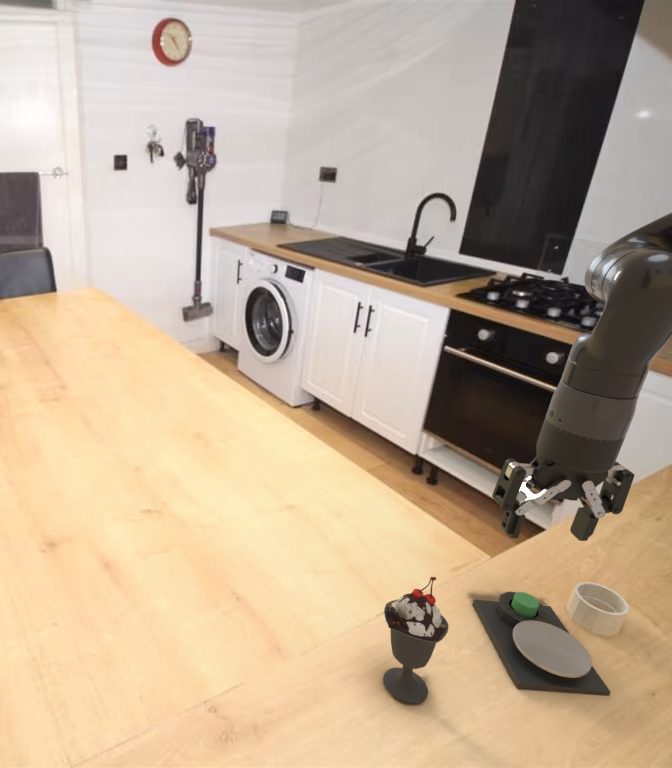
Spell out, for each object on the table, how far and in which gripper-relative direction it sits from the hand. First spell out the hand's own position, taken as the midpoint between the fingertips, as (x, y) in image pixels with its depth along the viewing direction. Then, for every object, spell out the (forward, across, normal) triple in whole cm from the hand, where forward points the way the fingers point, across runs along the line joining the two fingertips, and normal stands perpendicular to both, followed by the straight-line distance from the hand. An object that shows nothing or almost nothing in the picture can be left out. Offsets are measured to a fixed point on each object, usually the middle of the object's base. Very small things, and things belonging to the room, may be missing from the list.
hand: (543, 535), depth 68 cm
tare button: (+11, 0, -1) cm, 12 cm away
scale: (+14, 0, -5) cm, 15 cm away
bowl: (+14, +10, 0) cm, 17 cm away
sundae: (+14, -19, -11) cm, 26 cm away
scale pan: (+11, -1, -8) cm, 13 cm away
